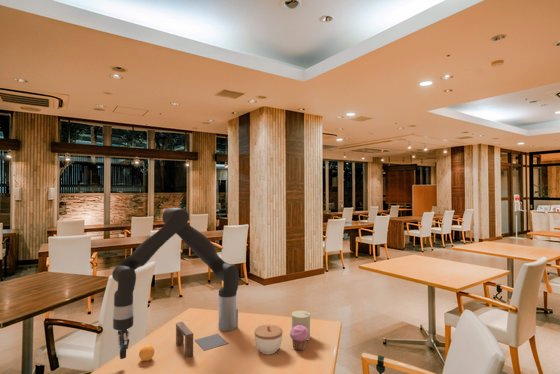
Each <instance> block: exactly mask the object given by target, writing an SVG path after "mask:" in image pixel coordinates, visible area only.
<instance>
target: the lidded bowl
mask: <svg viewBox="0 0 560 374" xmlns="http://www.w3.org/2000/svg"><path fill="white" fill-rule="evenodd" d="M283 333H284V332H283V329H282V327H280V326H278V325H276V324H263V325H259V326H257V327H256V328H255V329H254V342H255V345H256V348H257V349H258V350H259V352H260V353H261V352H262V353H261V354H263V355H266V354H271V355H274V354H275V352H277V351H278V350H279V349H280V348H281V345H282V342H283ZM273 353H274V354H273Z"/></svg>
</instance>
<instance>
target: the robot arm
mask: <svg viewBox="0 0 560 374" xmlns="http://www.w3.org/2000/svg"><path fill="white" fill-rule="evenodd" d="M189 217H190V216H189V212H188V211H187V210H185V209H184V208H179V207H169V208H166V209H165V210H164V211H163V213H162V222H163V223H164V225H163V226H162V227H161V228H160V229H159V230H157V231H156V232H155V233H153V234H152V235H151V236H149V237H148V238H147V239H145V240H143V242H142V243H140V245H138V246H137V247H136V249H135V250H133V252H132V253H131V254H130V255H128V257H125V259H124V260H122V261H121V262H119V263H118V264H117V265H116V266H115V267H114V269H113V271H112V274H111V275H112V279H113V280H114V281H115V282H116V283H117V290H115V292H114V296H113V311H112V312H113V313H112V329H114V330H116V336H117V344H118V348H119V349H118V350H119V359H120V360H124V359H126V358H127V350H128V349H129V344H130V339H129V337H130V331H129V329H131V328H132V327H133V326H134V317H135V316H134V310H135V307H134V291H135V287H136V281H137V272H136V270H137V269H138V268H139V267H144V265H146V264H147V262H149V260H150V259H151V258H153V256H154V255H155V254H156V253H157V252H158V251H159V249H161V247H163V246H164V245H165V244H166V243H167V242H168V241H169V240H170V239H172V238H173V236H175V235H177V236H178V237H179V238H180V239H181V240H182V241H183V242H184V244H186V246H187V247H188V248H189V249H190V250H191V251H192V252H193V253H194V254H195V255H196V256H197V257H198V258H199V259H200V260H201V261H202V262H203V263H204V264H206V265H207V267H209V268H210V271H212V273H213V274H214V275H215V276H216V278H217V279H218V280H220V281H223V286H222V287H221V288H219V289H218V323H217V324H218V330H219V331H222V332H231V331H234V330H235V329H238V328H239V309H238V308H237V296H238V295H237V292H238V289H239V278H240V276H239V275H240V274H239V273H240V272H239V269H238V267H237V266H236V265H235V264H231V263H228V262H226V261H225V260H223V259H222V258H221V257H220V256H219V254H218V253H217V251H216V247H215V245H214V244H213V243H212V242H211V240H210V239H209V238H208V237H207V236H206V235H205V234H203V233H202V232H201V231H199V230H197V229H196V228H194V227H193V226H191V225H190V224H189V219H190V218H189Z"/></svg>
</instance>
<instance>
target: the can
mask: <svg viewBox="0 0 560 374" xmlns="http://www.w3.org/2000/svg"><path fill="white" fill-rule="evenodd" d="M297 325H302V326H305V327H306V328H307V329H308V331H309V337H308V338H307V339H309V338H310V339H311V313H310V312H309V311H306V310H294V311H292V312H291V329H292V328H293V327H295V326H297ZM310 339H309V340H310Z"/></svg>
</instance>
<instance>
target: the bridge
mask: <svg viewBox="0 0 560 374" xmlns="http://www.w3.org/2000/svg"><path fill="white" fill-rule="evenodd" d="M175 345H176V346H180V345H184V357H185V358H186V359H188V358H191V357H194V332H193V331H192V330H191V329H190V328H189V327H188V326H187V325H186V323H184V322H183V321H179V322H176V323H175Z"/></svg>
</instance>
